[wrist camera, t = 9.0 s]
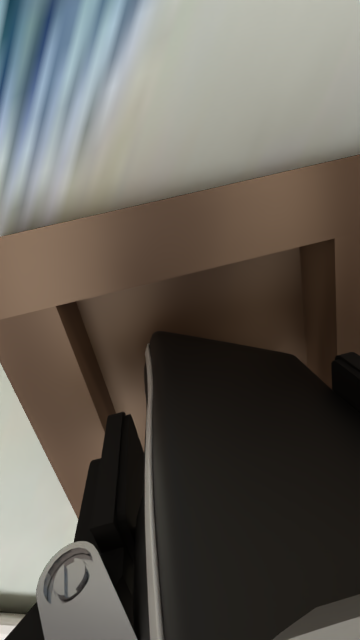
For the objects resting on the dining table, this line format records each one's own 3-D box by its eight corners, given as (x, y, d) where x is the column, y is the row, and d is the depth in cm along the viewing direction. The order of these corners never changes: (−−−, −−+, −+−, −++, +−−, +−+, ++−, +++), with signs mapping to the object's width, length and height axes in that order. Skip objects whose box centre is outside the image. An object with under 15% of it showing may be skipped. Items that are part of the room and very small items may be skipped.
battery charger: (129, 403, 13) (87, 1237, 2) (146, 324, 12) (212, 1241, 1) (271, 421, 14) (643, 1000, 4) (298, 351, 13) (940, 900, 3)
